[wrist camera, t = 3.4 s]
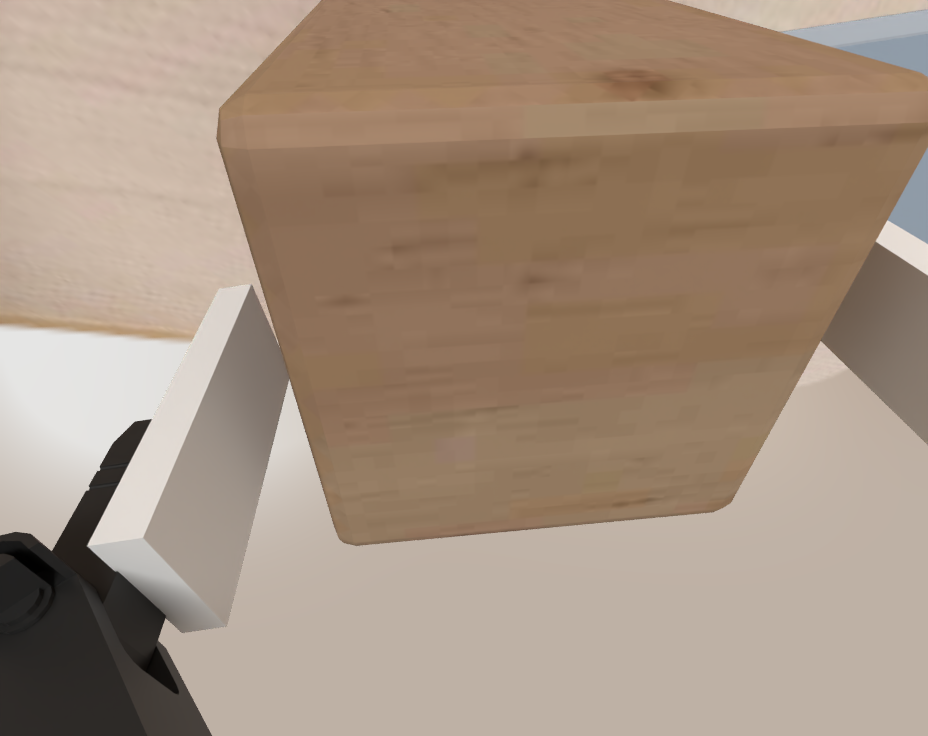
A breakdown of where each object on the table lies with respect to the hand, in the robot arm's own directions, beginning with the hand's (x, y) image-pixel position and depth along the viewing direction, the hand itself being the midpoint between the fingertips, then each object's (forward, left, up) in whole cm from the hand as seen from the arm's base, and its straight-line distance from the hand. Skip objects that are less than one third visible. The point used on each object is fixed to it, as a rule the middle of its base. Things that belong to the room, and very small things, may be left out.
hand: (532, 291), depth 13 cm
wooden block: (0, 0, -16) cm, 16 cm away
